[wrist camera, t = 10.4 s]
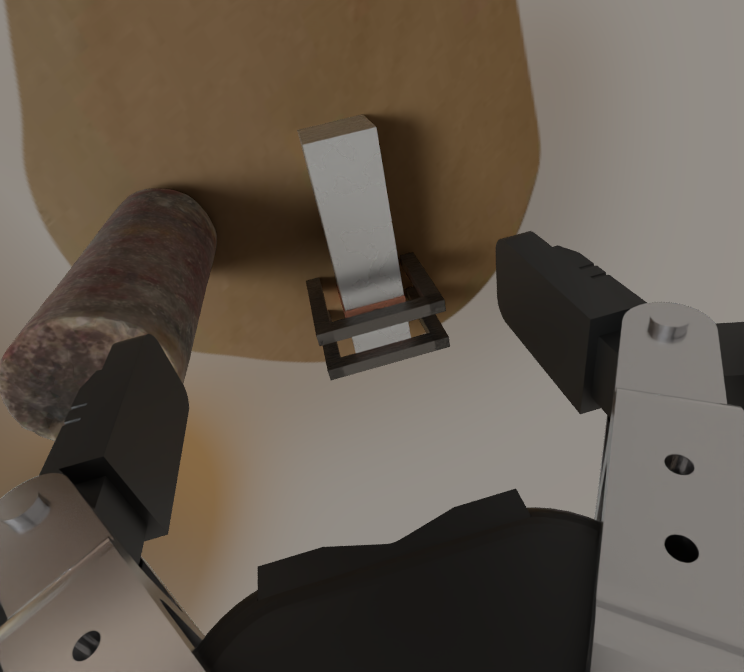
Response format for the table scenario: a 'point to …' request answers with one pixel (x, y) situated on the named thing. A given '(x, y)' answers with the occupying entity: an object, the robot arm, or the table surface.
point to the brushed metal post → (356, 220)
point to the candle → (113, 305)
